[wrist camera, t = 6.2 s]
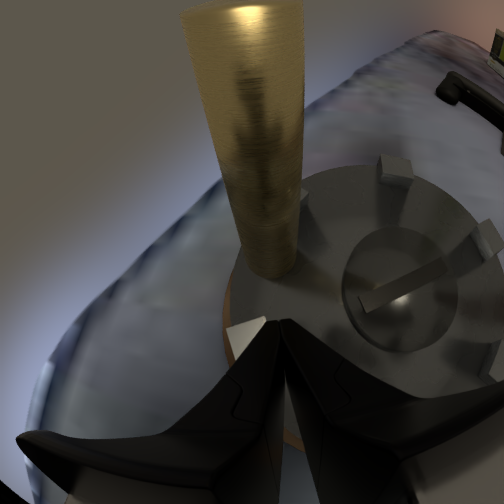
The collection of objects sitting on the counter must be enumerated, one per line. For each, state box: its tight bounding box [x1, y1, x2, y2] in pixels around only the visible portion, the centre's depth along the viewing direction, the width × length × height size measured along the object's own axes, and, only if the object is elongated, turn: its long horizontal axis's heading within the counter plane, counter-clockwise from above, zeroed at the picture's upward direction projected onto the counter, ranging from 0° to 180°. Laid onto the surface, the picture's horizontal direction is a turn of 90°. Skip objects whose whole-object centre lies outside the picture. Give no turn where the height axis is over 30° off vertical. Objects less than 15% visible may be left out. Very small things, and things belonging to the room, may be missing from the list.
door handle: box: [436, 71, 504, 156], centre depth 24 cm, size 3×20×16 cm
